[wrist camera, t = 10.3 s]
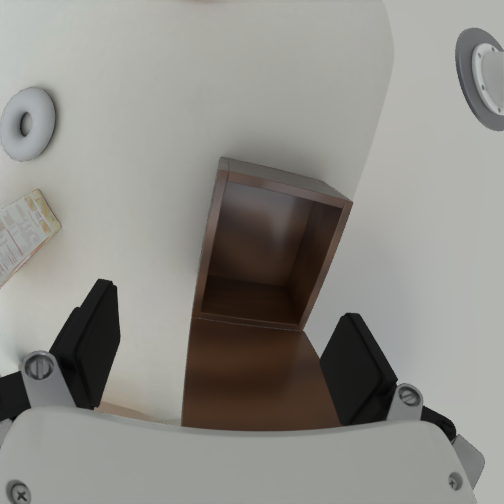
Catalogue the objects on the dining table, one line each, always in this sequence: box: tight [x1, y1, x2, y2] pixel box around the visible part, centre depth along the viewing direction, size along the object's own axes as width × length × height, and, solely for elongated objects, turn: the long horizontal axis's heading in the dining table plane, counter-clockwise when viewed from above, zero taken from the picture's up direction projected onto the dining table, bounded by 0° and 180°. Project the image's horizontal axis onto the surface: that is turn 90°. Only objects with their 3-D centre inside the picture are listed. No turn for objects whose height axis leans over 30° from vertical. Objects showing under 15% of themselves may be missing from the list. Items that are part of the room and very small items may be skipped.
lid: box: [181, 317, 344, 431], centre depth 23 cm, size 17×13×5 cm
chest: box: [192, 157, 353, 331], centre depth 31 cm, size 16×13×9 cm
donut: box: [0, 87, 55, 162], centre depth 24 cm, size 10×3×10 cm
